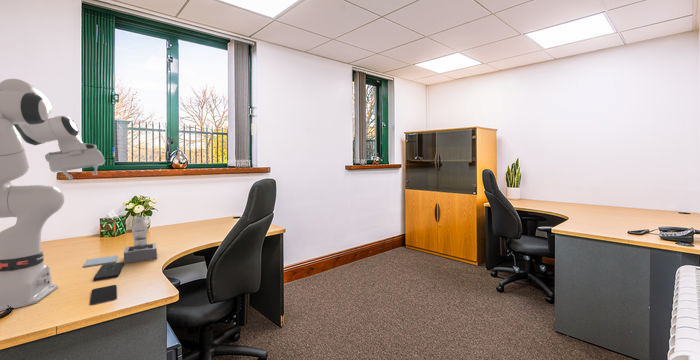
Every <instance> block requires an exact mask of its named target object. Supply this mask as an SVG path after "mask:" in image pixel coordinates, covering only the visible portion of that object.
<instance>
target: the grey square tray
mask: <svg viewBox="0 0 700 360" xmlns="http://www.w3.org/2000/svg"><path fill="white" fill-rule="evenodd" d="M147 245H148V249H144V250H137V251H133V250H134V245H131V246H125V247H124V250H123V262H124V264H131V263H135V262H143V261H149V260H155V259H158V254H157V253H158V251H157V249H158V248H157V243H156V242H154V243H147Z"/></svg>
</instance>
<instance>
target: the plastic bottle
mask: <svg viewBox="0 0 700 360" xmlns="http://www.w3.org/2000/svg"><path fill="white" fill-rule="evenodd" d="M144 219H145V218H144V216H140V217H139V216H138V217H134V224H133V225H132V227H131V232H132V237H133V246H134V250H133V251H137V250H144V249H148V245H147V244H148V239H147V238H148V237H147V235H148V226H147V225H146V223H145V222H144V221H145V220H144Z"/></svg>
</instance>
